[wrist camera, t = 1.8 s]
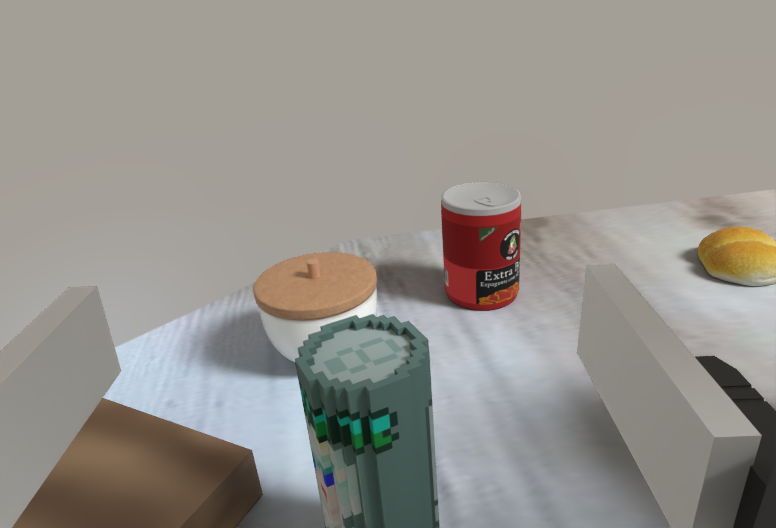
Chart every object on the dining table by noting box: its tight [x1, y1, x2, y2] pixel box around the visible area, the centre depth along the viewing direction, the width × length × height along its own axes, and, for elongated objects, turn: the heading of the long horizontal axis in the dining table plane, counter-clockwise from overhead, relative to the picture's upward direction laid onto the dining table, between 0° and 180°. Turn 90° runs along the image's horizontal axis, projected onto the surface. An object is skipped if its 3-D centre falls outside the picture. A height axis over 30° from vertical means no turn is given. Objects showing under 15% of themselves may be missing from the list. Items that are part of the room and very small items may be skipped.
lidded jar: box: [253, 252, 377, 362], centre depth 52 cm, size 11×11×9 cm
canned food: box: [441, 182, 521, 310], centre depth 59 cm, size 8×8×11 cm
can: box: [295, 314, 439, 528], centre depth 31 cm, size 6×6×15 cm
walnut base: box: [12, 398, 263, 528], centre depth 36 cm, size 16×16×4 cm
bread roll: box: [698, 227, 776, 286], centre depth 61 cm, size 8×9×4 cm
